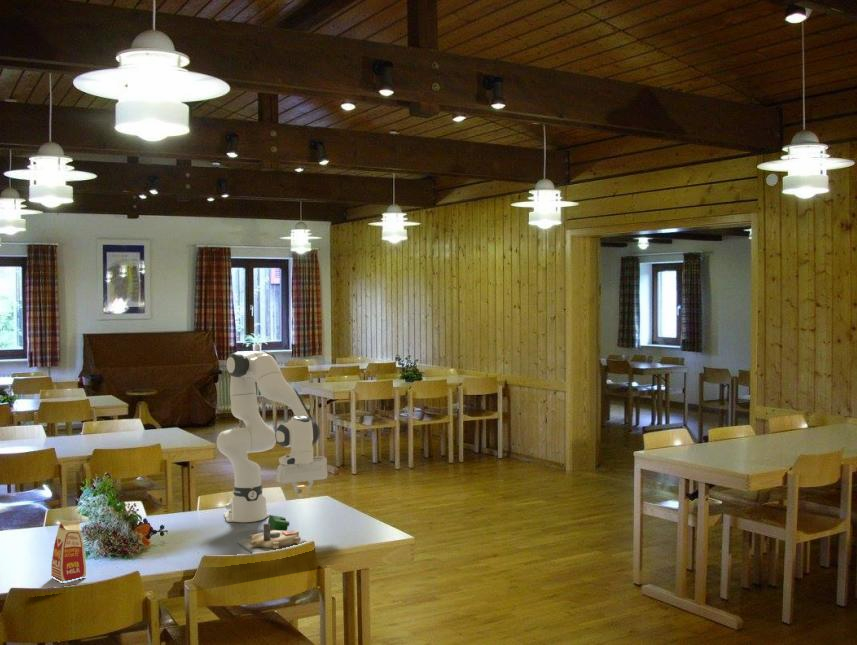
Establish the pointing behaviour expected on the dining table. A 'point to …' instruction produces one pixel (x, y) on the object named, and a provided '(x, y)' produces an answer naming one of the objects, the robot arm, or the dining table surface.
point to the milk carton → (68, 552)
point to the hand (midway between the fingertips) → (302, 492)
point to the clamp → (278, 523)
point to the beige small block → (303, 491)
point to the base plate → (246, 544)
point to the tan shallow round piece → (274, 538)
